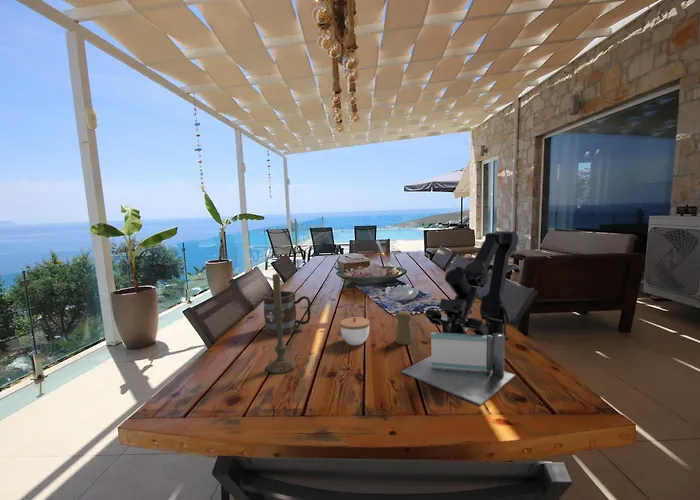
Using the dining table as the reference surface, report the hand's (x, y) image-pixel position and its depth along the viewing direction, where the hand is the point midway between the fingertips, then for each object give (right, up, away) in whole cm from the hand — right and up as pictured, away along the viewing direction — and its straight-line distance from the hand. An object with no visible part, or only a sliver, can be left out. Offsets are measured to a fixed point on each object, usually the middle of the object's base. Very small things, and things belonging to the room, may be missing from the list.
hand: (444, 346), depth 98 cm
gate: (+5, -6, -2) cm, 7 cm away
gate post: (+3, -7, -4) cm, 8 cm away
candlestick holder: (-49, -8, +5) cm, 50 cm away
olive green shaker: (-8, -5, +22) cm, 24 cm away
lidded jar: (-26, -5, +23) cm, 35 cm away
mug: (-54, -5, +39) cm, 66 cm away
